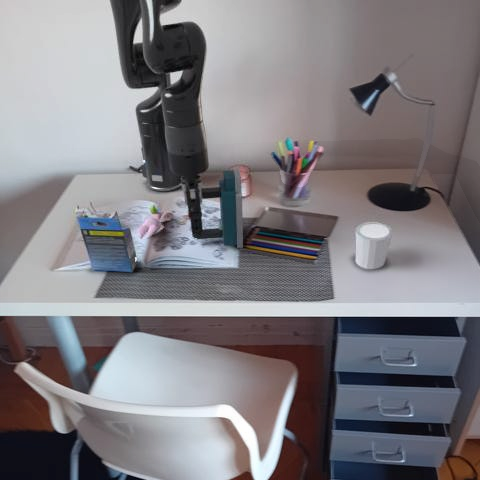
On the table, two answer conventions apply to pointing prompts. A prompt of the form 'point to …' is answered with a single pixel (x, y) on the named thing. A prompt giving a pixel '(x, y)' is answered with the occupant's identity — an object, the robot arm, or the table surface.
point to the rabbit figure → (151, 224)
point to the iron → (226, 209)
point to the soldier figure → (94, 213)
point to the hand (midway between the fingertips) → (196, 221)
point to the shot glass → (372, 244)
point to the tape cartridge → (108, 244)
